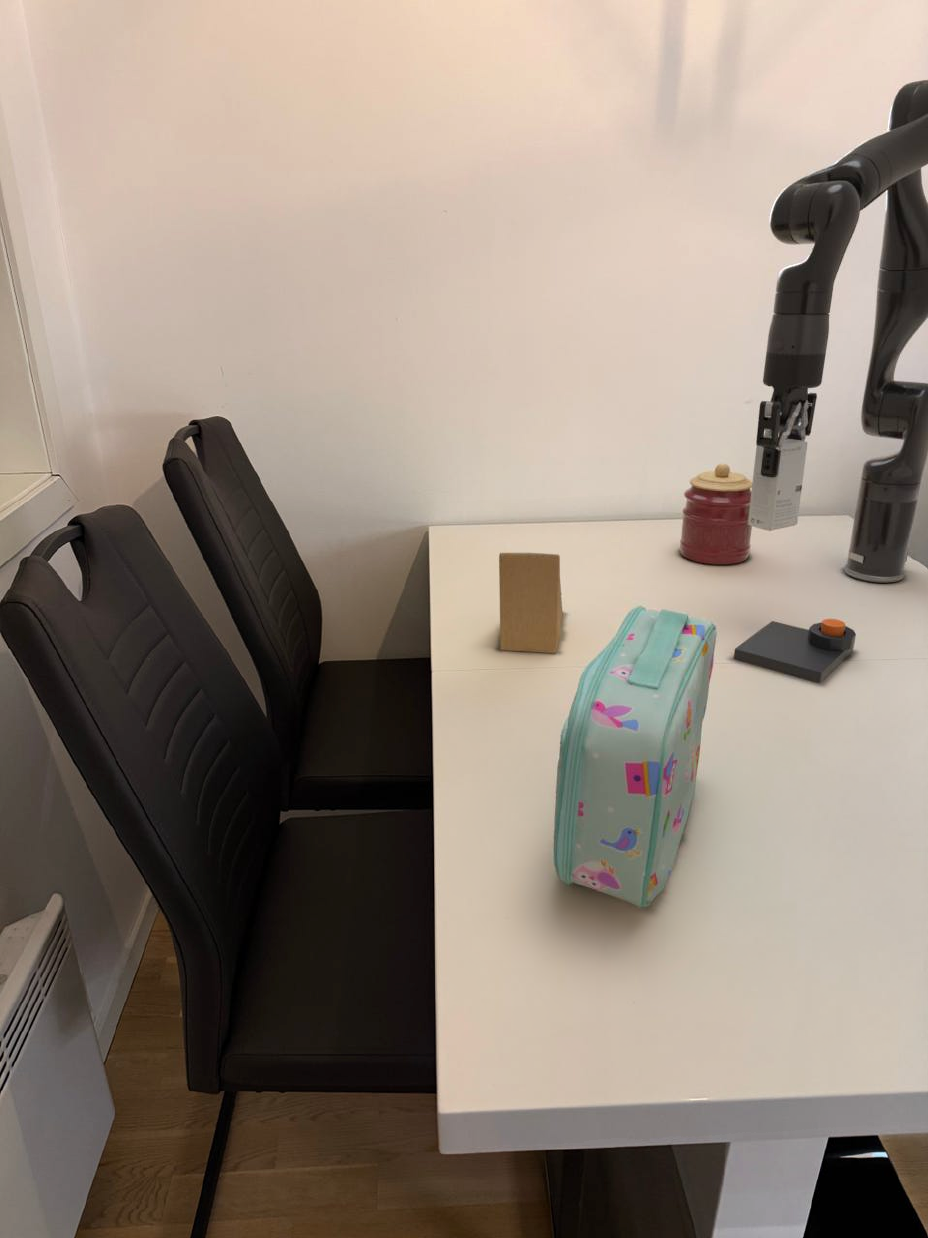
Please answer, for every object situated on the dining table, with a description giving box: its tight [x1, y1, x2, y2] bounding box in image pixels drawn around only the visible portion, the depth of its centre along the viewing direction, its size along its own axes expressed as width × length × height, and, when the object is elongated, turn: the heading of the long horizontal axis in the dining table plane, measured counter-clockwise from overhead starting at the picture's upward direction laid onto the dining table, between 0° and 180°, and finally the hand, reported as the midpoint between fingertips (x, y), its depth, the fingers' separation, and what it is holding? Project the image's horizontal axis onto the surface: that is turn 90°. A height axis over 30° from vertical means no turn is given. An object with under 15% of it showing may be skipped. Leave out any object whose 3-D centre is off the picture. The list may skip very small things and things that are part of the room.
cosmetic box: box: [748, 438, 808, 532], centre depth 119 cm, size 6×4×12 cm
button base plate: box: [733, 620, 857, 684], centre depth 118 cm, size 13×12×4 cm
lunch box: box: [553, 605, 718, 908], centre depth 79 cm, size 27×10×21 cm, turn 157°
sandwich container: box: [498, 552, 564, 654], centre depth 126 cm, size 9×15×15 cm, turn 170°
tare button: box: [821, 618, 846, 636], centre depth 118 cm, size 3×3×2 cm
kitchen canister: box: [679, 462, 753, 565], centre depth 157 cm, size 13×13×18 cm
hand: (779, 471), depth 119 cm, fingers closed on cosmetic box, 6 cm apart
